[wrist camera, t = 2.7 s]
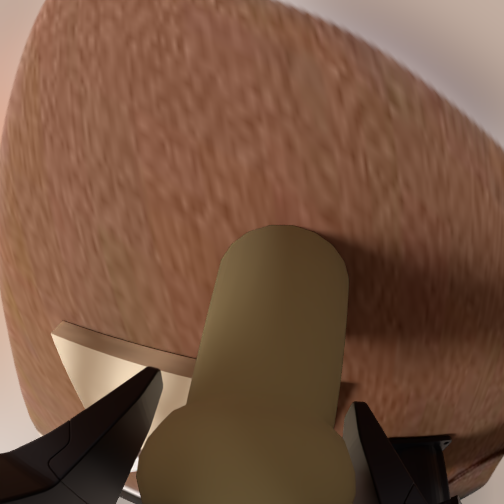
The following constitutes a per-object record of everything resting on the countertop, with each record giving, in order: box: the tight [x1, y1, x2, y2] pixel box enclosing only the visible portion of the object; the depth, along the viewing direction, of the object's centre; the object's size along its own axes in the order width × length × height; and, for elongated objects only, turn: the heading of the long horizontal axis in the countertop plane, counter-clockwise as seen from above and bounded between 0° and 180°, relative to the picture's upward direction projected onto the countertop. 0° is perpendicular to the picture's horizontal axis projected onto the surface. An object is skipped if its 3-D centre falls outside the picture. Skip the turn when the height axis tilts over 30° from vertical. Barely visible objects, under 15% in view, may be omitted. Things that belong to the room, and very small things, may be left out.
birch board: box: [51, 321, 196, 450], centre depth 20 cm, size 18×13×2 cm
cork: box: [136, 225, 356, 504], centre depth 9 cm, size 6×6×11 cm
